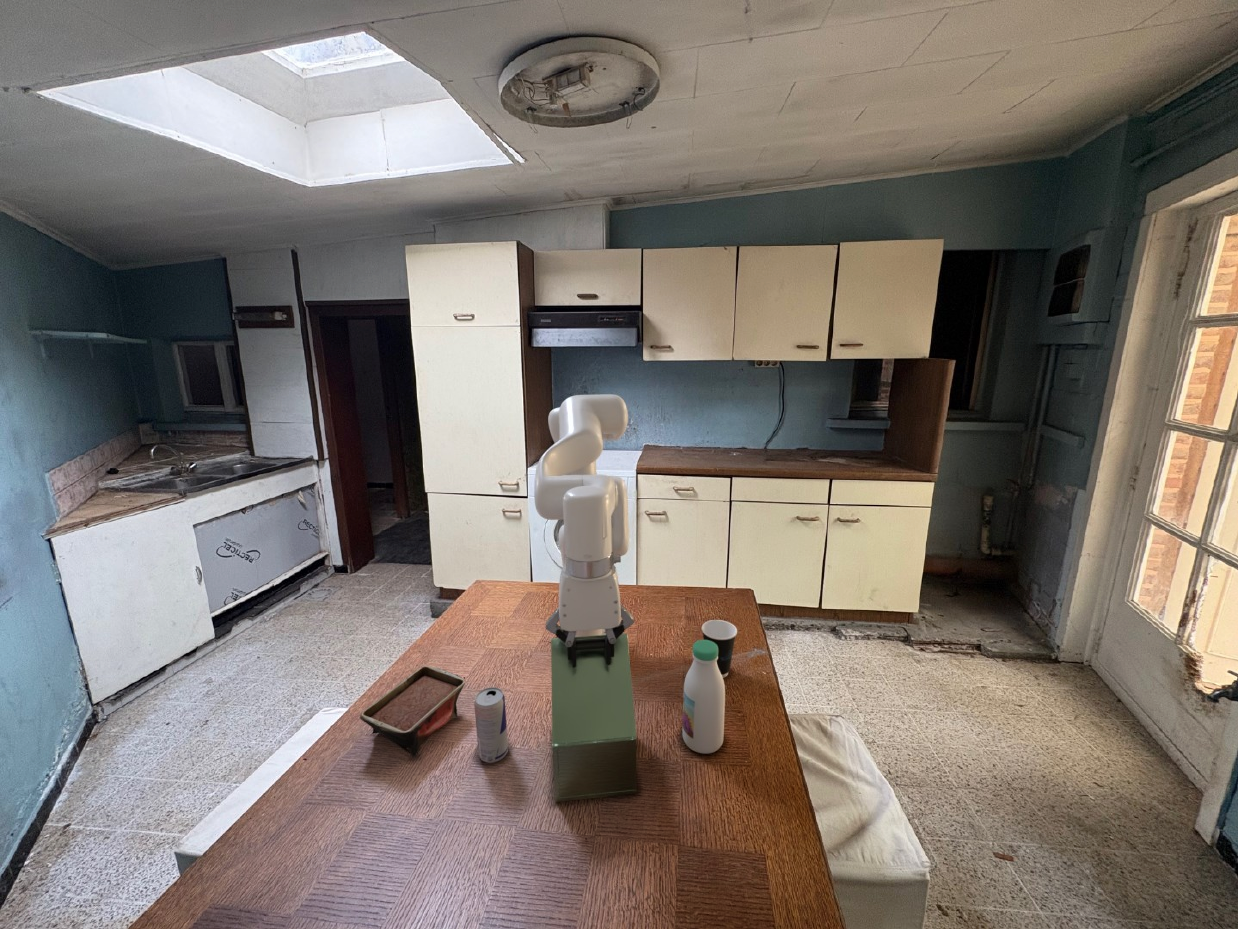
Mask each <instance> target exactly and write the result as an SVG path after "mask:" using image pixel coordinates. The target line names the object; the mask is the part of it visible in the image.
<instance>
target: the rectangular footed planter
mask: <svg viewBox="0 0 1238 929" xmlns="http://www.w3.org/2000/svg"><path fill="white" fill-rule="evenodd" d="M465 685H466V680H465V679H464V678H463V677H462V676H460V675H458V674H455V673H453V672H451V671H447V670H445V669H441V668H439V667H434V666H429V665H423V666H420V667H419V668H417V669H415V670H414V671H413V672H412V673H411V674H410V675H408V676H407V677H406V678H404V679H403V680H402V681H400V682H399V683H398V684H397V685H396V686H394V687H393V688H392V689H390V690H389V691H387V692H386V693H385V694H384V695H382V696H381V697H380V698H378V699H377V700H375V701H374V702H373V703H372V704H370V705H369V706H368V707H366V708H365V709H364V710H363V711H362V712H361V713H360V716H359V719H360V720H361V721H362V722H364V723H365V724H367V725H368V726H369V727H371V728H372V733H371V735H375V734H380V735H382V736H383V737H385V738H386V739H388V740H389V741H391V742H392V743H393V744H395V745H396V746H397V747H399V748H400V749H402V750H403V751H404V752H406V753H408V754H409V755H411V756H412V757H414V758H415V757H417V754H418V752H419V751H420V749H421V747H422V746H423V745H424V743H425V742H426V741H427V739H428V738H429V737H430V736H431V735H432V733H433V732H435V731H438V730H440V729H441V728H443V727H444V726H446V724H447V723H449V722H450V721H451V720H452V719H454V718H458V709H457V702H458V699H459V697H460V695H461V692H462V690H463V689H464V687H465Z"/></svg>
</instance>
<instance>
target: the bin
mask: <svg viewBox="0 0 1238 929" xmlns="http://www.w3.org/2000/svg"><path fill="white" fill-rule="evenodd" d="M552 764H553V766H552V767H553V786H554V802H555V803H559V802H569V801H570V802H571V801H578V800H580V801H581V800H589V799H596V798H597V799H598V798H599V799H600V798H608V797H618V796H628V795H637V790H638V789H637V784H638V783H637V778H638V777H637V774H638V773H637V736H636V737H630V738H619V739H608V740H597V741H587V742H576V743H565V744H554V745H553V744H552Z"/></svg>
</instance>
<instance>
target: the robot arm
mask: <svg viewBox="0 0 1238 929" xmlns="http://www.w3.org/2000/svg"><path fill="white" fill-rule="evenodd" d="M547 421H548V429H549V432H550V435H551V439H552V441H553V442H554V443H553V444H552V445H551V446H550V447H549V448H548V449H547V450H546V451H545V452H544V453H543V454H542V455H541V457H540V458H539V460H538V463H537V465H536V469H535V474H534V475H535V476H534V477H535V478H534V506H535V510H536V512H537V514H538V515H539V516H540V517H541V518H543V519H544V520H549V521H558V520H560V521H561V520H563V524H562V525H561V526H560V528H559V530H558V534H557V536H558V537H557V538H558V545H559V551H560V554H561V555H560V556H561V562H562V568H561V570H560V575H559V581H558V607H557V608H556V609H555V610H554V612H553V613H551V615H550V617H549V618H548V619H547V620H545V630H547V631H548V632H550V633H552V634H553V635H555V637H556V638H559V639H560V640H562V641H563V642H564V643H565V644H566V646H567V649H568V660H572V668H575V667H577V665H576V638H575V637H582V636H596V635H606V636H605V646H606V648H605V658H606V664H608V665H611V657H614V643H615V642H616V639H617V638H618V637H619V636H620V635H621V634H624V633H625V630H627V629H629V628H630V627H631V626H632V625H634V623H635V618H634V615H632V614H631V612H630V611H629V610H628V609H627V608H626V607H625V606H624V605H623V604H622V603H621V593H620V585H619V577H618V571H617V567H616V565H615V564H617V563H621V562H622V558H621V557H623V556H625V555H626V554H627V553H628V550H629V549H630V548H629V547H630V526H629V500H628V499H629V498H628V490H627V485H626V483H625V482H626V481H625V480H624V479H623V478H622V477H620V476H618V475H607V474H599V473H598V474H597V460H598V459H599V458H600V457H601V455H602V453H603V450H604V442H615V441H618V440H620V439H621V437H622V436H623V435H624V433H625V432H626V431H627V428H628V424H629V412H628V407H627V404H626V402H625V400H624V399H623V398H622V397H621V396H619V395H617V394H613V393H612V394H611V393H606V394H604V393H603V394H576V395H572V396H569V397H567V398H565V400H563V401H562V402H561V404H560V406H559V407H556V408H553V409H552V410H551V411H550V412H549V414H548V420H547ZM558 623H559V624H558Z"/></svg>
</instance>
